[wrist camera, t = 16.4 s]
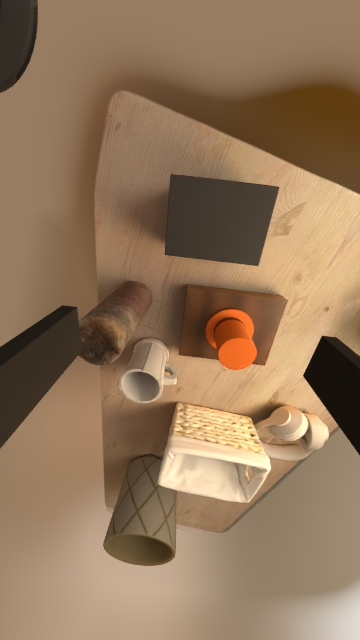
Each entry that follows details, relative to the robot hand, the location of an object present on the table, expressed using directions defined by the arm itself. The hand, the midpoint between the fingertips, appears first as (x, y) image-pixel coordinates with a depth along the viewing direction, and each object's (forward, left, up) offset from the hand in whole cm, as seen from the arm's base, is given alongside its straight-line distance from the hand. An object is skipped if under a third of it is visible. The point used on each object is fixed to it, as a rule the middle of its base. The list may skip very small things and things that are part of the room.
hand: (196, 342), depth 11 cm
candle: (-12, -10, -33) cm, 36 cm away
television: (+2, +6, -33) cm, 34 cm away
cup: (-7, -24, -33) cm, 41 cm away
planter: (-5, -73, -33) cm, 80 cm away
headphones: (+31, -44, -33) cm, 63 cm away
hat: (+9, -14, -30) cm, 34 cm away
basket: (+10, -47, -33) cm, 58 cm away
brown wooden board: (+9, -14, -33) cm, 37 cm away
